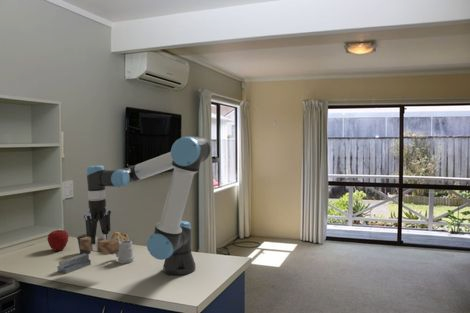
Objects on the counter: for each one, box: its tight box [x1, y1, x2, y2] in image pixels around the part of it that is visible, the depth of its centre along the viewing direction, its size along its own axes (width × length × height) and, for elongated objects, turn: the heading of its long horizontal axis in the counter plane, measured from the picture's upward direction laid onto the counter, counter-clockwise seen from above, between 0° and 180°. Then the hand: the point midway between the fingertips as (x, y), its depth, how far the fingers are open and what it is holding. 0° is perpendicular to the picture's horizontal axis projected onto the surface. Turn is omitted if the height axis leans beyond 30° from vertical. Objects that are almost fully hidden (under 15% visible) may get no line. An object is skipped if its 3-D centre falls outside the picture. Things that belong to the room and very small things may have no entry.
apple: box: [47, 229, 69, 251], centre depth 216 cm, size 11×11×12 cm
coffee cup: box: [76, 234, 92, 255], centre depth 209 cm, size 8×8×10 cm
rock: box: [110, 231, 130, 242], centre depth 216 cm, size 12×10×10 cm
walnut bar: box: [80, 237, 119, 256], centre depth 178 cm, size 20×4×5 cm, turn 63°
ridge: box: [57, 254, 92, 274], centre depth 186 cm, size 6×14×5 cm, turn 149°
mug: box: [115, 236, 135, 264], centre depth 196 cm, size 8×12×12 cm, turn 57°
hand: (99, 249), depth 178 cm, fingers closed on walnut bar, 4 cm apart
